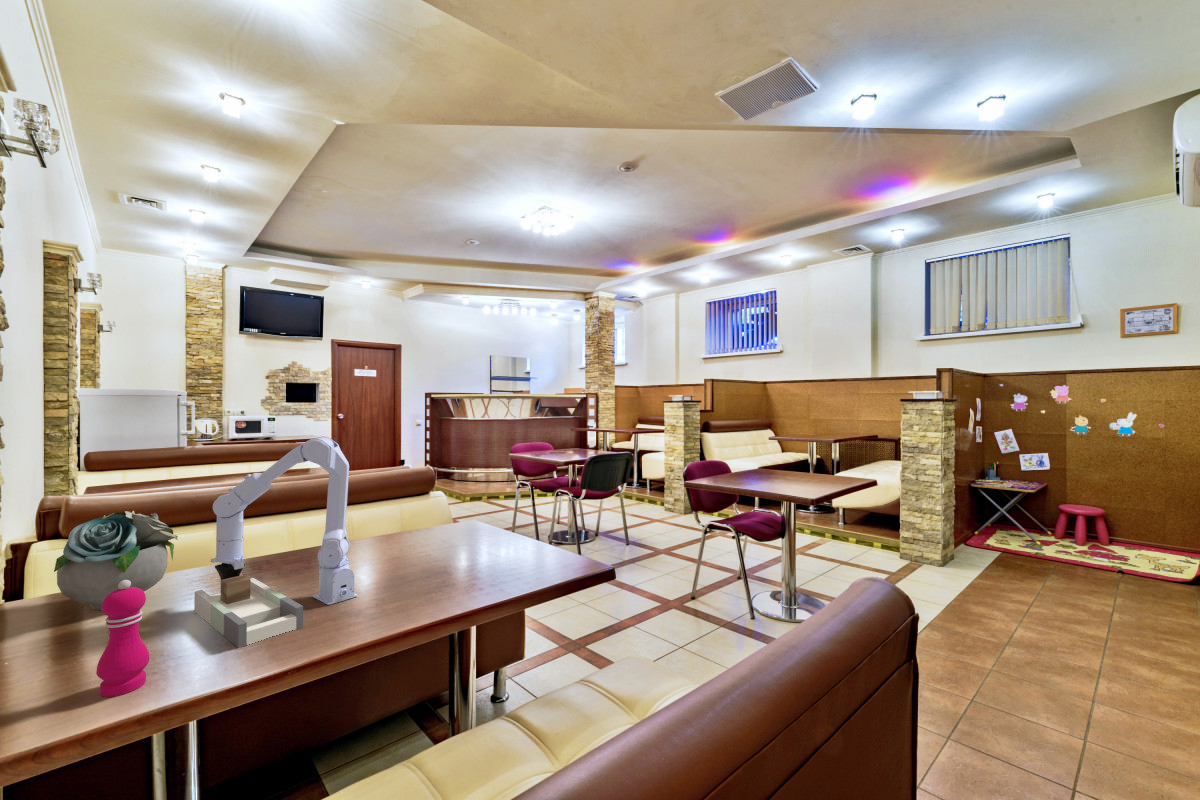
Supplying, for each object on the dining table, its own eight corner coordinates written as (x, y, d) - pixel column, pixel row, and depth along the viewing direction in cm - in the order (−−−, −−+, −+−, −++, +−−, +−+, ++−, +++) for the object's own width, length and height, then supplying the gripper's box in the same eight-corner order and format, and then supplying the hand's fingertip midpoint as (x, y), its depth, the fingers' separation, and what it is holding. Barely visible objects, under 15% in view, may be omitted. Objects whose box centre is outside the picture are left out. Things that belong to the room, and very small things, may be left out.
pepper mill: (145, 673, 99) (146, 571, 99) (153, 686, 94) (154, 579, 95) (93, 689, 93) (94, 580, 94) (98, 703, 89) (100, 590, 89)
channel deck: (303, 627, 119) (303, 606, 119) (238, 648, 109) (238, 624, 109) (253, 595, 139) (253, 577, 139) (194, 611, 129) (194, 591, 129)
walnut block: (250, 598, 129) (250, 578, 129) (227, 604, 125) (227, 584, 125) (243, 593, 132) (243, 574, 132) (220, 599, 128) (220, 580, 129)
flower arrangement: (199, 592, 142) (200, 505, 142) (88, 630, 118) (89, 525, 118) (136, 583, 148) (137, 500, 149) (19, 618, 124) (20, 519, 125)
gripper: (202, 537, 133) (202, 589, 133) (220, 547, 124) (220, 602, 124) (234, 532, 139) (233, 582, 139) (253, 541, 130) (253, 594, 130)
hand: (229, 591), depth 132 cm, fingers closed
